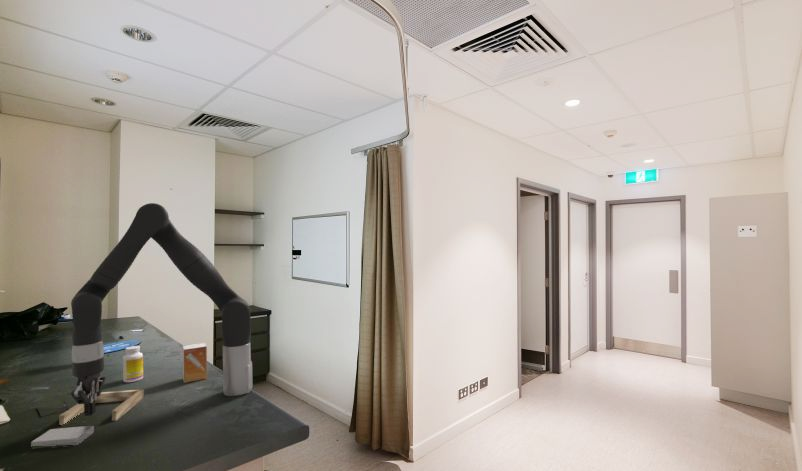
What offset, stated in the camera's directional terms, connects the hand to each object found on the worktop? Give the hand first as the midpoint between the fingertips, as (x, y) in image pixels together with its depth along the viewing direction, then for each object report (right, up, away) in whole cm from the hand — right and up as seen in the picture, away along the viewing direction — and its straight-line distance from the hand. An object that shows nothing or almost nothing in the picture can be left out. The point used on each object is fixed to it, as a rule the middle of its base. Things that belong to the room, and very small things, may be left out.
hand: (90, 414), depth 117 cm
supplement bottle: (-11, -3, +35) cm, 37 cm away
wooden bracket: (-2, -3, +8) cm, 9 cm away
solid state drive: (-20, -4, +10) cm, 23 cm away
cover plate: (+1, -3, -10) cm, 11 cm away
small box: (+13, -3, +35) cm, 38 cm away
